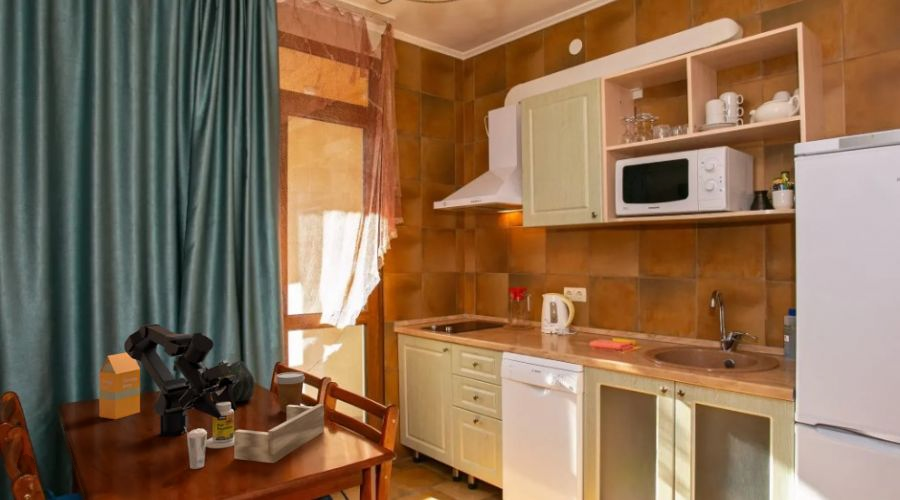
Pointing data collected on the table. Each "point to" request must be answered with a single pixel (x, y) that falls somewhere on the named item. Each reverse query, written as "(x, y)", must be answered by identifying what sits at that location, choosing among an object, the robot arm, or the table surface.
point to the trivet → (212, 444)
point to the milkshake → (196, 447)
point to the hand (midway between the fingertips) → (227, 414)
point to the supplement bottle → (223, 423)
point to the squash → (239, 382)
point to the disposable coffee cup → (289, 389)
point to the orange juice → (119, 387)
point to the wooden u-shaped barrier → (280, 435)
